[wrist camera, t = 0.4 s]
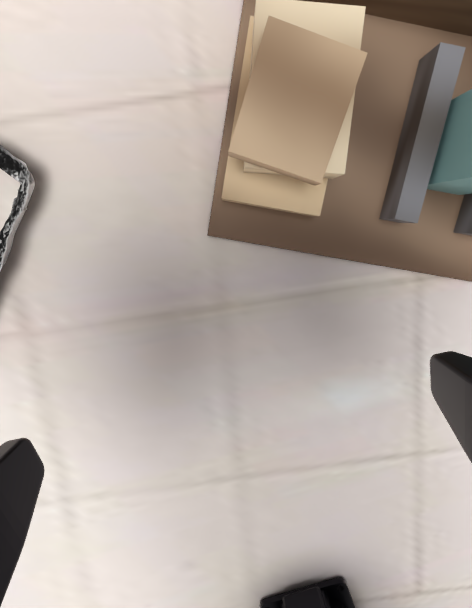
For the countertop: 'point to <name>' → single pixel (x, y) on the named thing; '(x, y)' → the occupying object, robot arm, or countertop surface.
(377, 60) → the rack
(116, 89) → the countertop surface
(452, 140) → the block
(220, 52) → the countertop surface
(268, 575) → the countertop surface
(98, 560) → the countertop surface
